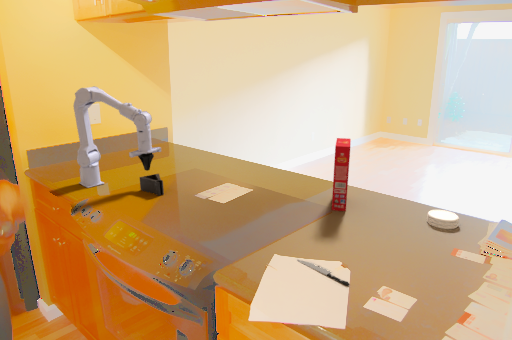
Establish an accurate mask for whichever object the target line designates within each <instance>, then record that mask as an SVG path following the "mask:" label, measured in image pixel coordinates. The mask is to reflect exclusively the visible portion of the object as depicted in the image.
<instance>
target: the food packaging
mask: <svg viewBox="0 0 512 340" xmlns="http://www.w3.org/2000/svg"><path fill="white" fill-rule="evenodd" d="M351 142H352V141H351V138H344V137H340V138H339V137H338V138H337V137H336V141H335V146H334V149H335V150H334V161H333V162H334V165H333V180H332V181H333V182H332V196H331V198H332V199H331V200H332V201H331V211H337V212H339V211H340V212H347V199H348V198H347V197H348V185H349V184H348V183H349V172H350V159H351V158H350V157H351Z"/></svg>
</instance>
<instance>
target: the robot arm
mask: <svg viewBox="0 0 512 340" xmlns="http://www.w3.org/2000/svg"><path fill="white" fill-rule="evenodd" d="M74 95H75V99H74V102H73V110H74V111H73V112H74V116H75V121H76V128H77V133H78V134H77V135H78V138H79V147H78V149H77V156H76V161H77V165H78V166H79V167H80V168H79V176H80V178H79V179H80V181H79V182H78V184H80V185H82V186H83V187H85V188H92V187H96V186H101V185H104V184H105V182H104V181H101V173H100V167H99V166H100V164H99V161H100V160H101V157H102V156H101V153H100V151H99V149H98V146H97V145H96V144H95V142H94V138H93V133H92V125H91V121H90V114H89V108H90V107H91V106H92V105H93V104H95V103H97V102H98V103H100V102H101V103H104V104H105V105H107V106H110V107H112V108H114V109H116V110H118V112H119V115H121V116H122V117H125V118H126V119H128V120H130V121H131V122H133V124H134V125H135V127H136V138H137V148H138V149H136V150H133V151H130V152H128V154H129V155H128V156H129V158H135V157H138V159H139V160H140V162H141V165H143V169H144V171H147V172H148V171H150V169H151V164H152V162H153V158H154V157H155V156H154V154H155V153H161V152H162V147H160V146H156V147H153V146H152V145H153V144H152V132H151V123H152V120H153V119H152V118H153V117H152V115H151V114H150V113H149V112H148V111H147V110H146V111H145V110H143V111H142V109H141V108H137V107H135V106H133V103H132V102H122V101H120V100H119V99H116V98H115V97H114V96H112V95H110V94H108V93H107V92H105V90H104V89H102V88H99V87H98V86H90V87H88V86H87V87H81V88H79V89H78V90H76V92H74Z"/></svg>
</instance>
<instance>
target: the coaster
mask: <svg viewBox="0 0 512 340" xmlns="http://www.w3.org/2000/svg"><path fill="white" fill-rule="evenodd" d="M459 220H460V217H459V215H457V214H456V213H455V212H452V211H450V210H446V209H445V210H444V209H431V210H429V211H428V212H427V216H426V223H427V224H428V225H430V226H431V227H434V228H437V229H441V230H453V229H457V227H458V226H459V223H460V221H459Z"/></svg>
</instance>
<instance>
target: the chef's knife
mask: <svg viewBox="0 0 512 340" xmlns="http://www.w3.org/2000/svg"><path fill="white" fill-rule="evenodd" d="M297 262H299V263H301V264H303V265H304V266H306V265H307V266H306V267H308V268H310V267H311V268H310V269H312V268H313V269H312V270H314V269H315V270H314V271H316V270H317V271H316V272H318V271H319V272H318V273H319V274H322V275H324V276H326V277H328V278H330V279H332V280H334V281H336V282H338V283H339V284H342V285H344V286H347V287H350V283H349V281H347V280H343V279H341V278H339V277H336V276H335V275H333V274H332V272H330V271H331V270H329V271H327V270H328V269H327V268H325V269H323V268H324V267H322V266H320V267H321V268H320V267H318V266H319V265H318V266H315V265H316V264H315V263H312V262H309V261H306V260H300V259H298V260H297ZM314 264H315V265H314ZM326 269H327V270H326Z"/></svg>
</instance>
